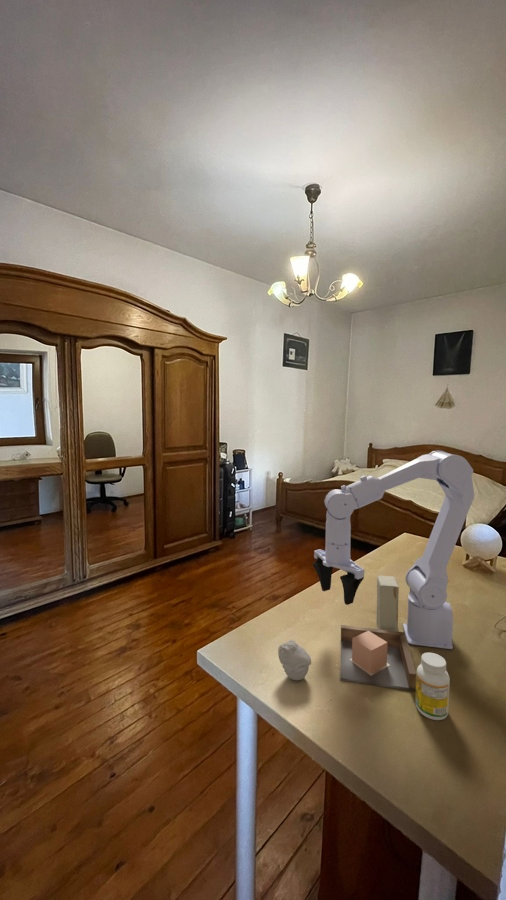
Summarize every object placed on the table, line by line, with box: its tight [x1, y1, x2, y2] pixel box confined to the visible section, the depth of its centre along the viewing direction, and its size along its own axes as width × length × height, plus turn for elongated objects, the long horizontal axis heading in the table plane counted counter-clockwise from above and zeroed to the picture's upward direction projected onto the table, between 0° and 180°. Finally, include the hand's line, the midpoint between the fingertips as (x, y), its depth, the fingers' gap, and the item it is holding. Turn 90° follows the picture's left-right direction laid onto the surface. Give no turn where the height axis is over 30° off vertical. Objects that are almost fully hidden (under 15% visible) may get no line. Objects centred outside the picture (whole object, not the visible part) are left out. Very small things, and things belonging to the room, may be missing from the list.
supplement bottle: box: [415, 651, 451, 721], centre depth 68 cm, size 5×5×10 cm
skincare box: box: [376, 575, 400, 632], centre depth 93 cm, size 6×4×12 cm
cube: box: [352, 631, 388, 674], centre depth 80 cm, size 5×5×5 cm
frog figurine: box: [277, 639, 312, 681], centre depth 77 cm, size 6×7×7 cm
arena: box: [339, 624, 417, 692], centre depth 81 cm, size 14×14×4 cm
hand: (337, 596), depth 91 cm, fingers open, 7 cm apart
